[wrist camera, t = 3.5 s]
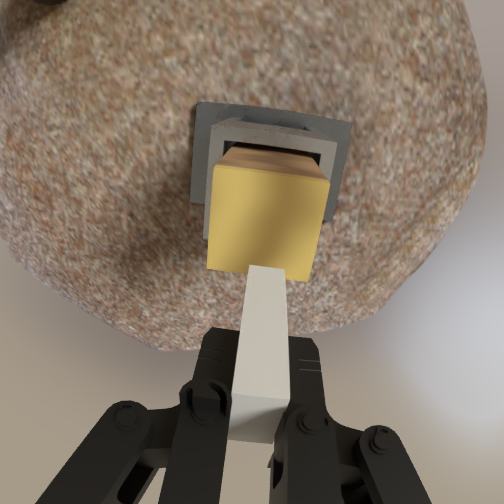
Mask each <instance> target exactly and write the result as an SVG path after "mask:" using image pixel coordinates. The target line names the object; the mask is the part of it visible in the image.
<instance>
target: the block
mask: <svg viewBox="0 0 504 504" xmlns="http://www.w3.org/2000/svg"><path fill="white" fill-rule="evenodd" d="M329 188H330V183H329V181H328V180H327V178H326V177H325V175H324V174H323V172H322V171H321V170H320V168H319V167H318V165H317V164H316V162H315V161H314V160H313V158H312V157H311V155H310V154H309V153H308V151H302V150H296V149H290V148H283V147H276V146H269V145H262V144H254V143H246V142H237V141H236V142H235V143H234V144H233V146H232V147H231V148H230V149H229V150H228V151H227V153H226V154H225V155H224V156H223V157H222V158H221V159H220V161H219V162H218V163H217V164H216V165H215V167H214V170H213V182H212V195H211V208H210V222H209V238H208V255H207V269H213V270H220V271H228V272H235V273H243V274H248V271H249V265H256V266H264V267H271V268H279V269H285V279H289V280H297V281H305V282H308V280H309V276H310V272H311V268H312V264H313V259H314V255H315V251H316V247H317V243H318V238H319V234H320V230H321V225H322V221H323V216H324V211H325V207H326V202H327V197H328V193H329Z"/></svg>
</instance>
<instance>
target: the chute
mask: <svg viewBox="0 0 504 504" xmlns="http://www.w3.org/2000/svg"><path fill="white" fill-rule="evenodd" d="M351 127H352V123H349V122H344V121H340V120H335V119H330V118H325V117H320V116H315V115H309V114H303V113H297V112H291V111H285V110H278V109H270V108H263V107H254V106H245V105H235V104H224V103H211V102H197V108H196V119H195V130H194V142H193V156H192V171H191V188H190V203H198V204H205V212H204V229H203V239H208V238H209V222H210V208H211V195H212V182H213V170H214V167H215V165H216V164H217V163H218V162H219V161H220V159H221V158H222V157H223V156H224V155H225V154H226V153H227V151H228V150H229V149H230V148H231V147H232V146H233V144H234V143H235V142H236V141H237V142H246V143H254V144H262V145H269V146H276V147H283V148H290V149H296V150H302V151H308V153H309V154H310V155H311V157H312V158H313V160H314V161H315V162H316V164H317V165H318V167H319V168H320V170H321V171H322V172H323V174H324V175H325V177H326V178H327V180H328V181H329V183H330V188H329V193H328V197H327V202H326V207H325V211H324V216H323V220H324V221H331V222H332V220H333V216H334V211H335V207H336V202H337V198H338V193H339V189H340V184H341V179H342V174H343V169H344V164H345V159H346V154H347V149H348V144H349V138H350V133H351Z"/></svg>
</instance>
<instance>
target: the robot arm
mask: <svg viewBox="0 0 504 504" xmlns="http://www.w3.org/2000/svg"><path fill="white" fill-rule="evenodd" d="M33 1H34V2H37V3H40V4H44V5H54V4H58V3H61V2H63V1H65V0H33ZM179 396H180V404H179V405H177V406H174V407H172V408H167V409H155V410H147V408H146V407H144V406H143V405H141V404H140V403H137V402H134V401H120V402H117V403H115V404H113V405H112V406H111V407H109V408H108V409H107V410H106V412H105V413H104V414H103V416H102V417H101V418H100V419H99V421H98V422H97V423H96V425H95V426H94V427H93V428H92V430H91V431H90V433H89V434H88V435H87V437H85V439H84V440H83V441H82V443H81V444H80V446H79V447H78V448H77V449H76V451H75V452H74V453H73V454H72V456H71V457H70V458H69V460H68V461H67V462H66V463H65V465H64V466H63V467H62V469H61V470H60V471H59V473H58V474H57V475H56V477H55V478H54V479H53V481H52V482H51V483H50V485H49V486H48V487H47V489H46V490H45V491H44V493H43V494H42V495H41V497H40V498H39V499H38V501H37V502H36V503H35V504H138V503H139V501H140V500H141V498H142V496H143V494H144V493H145V491H146V490H147V488H148V486H149V485H150V483H151V481H152V480H153V478H154V476H155V475H156V473H157V471H158V470H159V468H166V472H165V476H164V480H163V484H162V489H161V493H160V497H159V502H158V504H219V499H220V491H221V483H222V476H223V468H224V461H225V453H226V444H227V439H229V440H237V441H246V442H256V443H268V444H272V443H273V441H274V452H273V454H272V457H271V459H270V461H269V463H268V468H271V475H270V477H271V478H270V498H269V504H432V503H431V501H430V499H429V497H428V494H427V492H426V490H425V488H424V486H423V484H422V482H421V480H420V478H419V476H418V474H417V472H416V470H415V468H414V466H413V464H412V462H411V460H410V458H409V456H408V454H407V452H406V450H405V448H404V446H403V444H402V442H401V440H400V438H399V436H398V435H397V434H396V433H395V431H393V430H392V429H390V428H389V427H386V426H382V425H376V426H371V427H369V428H367V429H365V431H360V430H356V429H352V428H349V427H346V426H343V425H340V424H339V423H337V422H336V421H334V420H333V419H332V417H331V416H330V415H329V413H328V412H327V409H326V405H325V397H324V388H323V380H322V373H321V365H320V358H319V351H318V348H317V346H316V345H315V343H314V342H313V340H312V339H311V338H303V337H293V336H288V324H287V303H286V284H285V269H279V268H271V267H264V266H256V265H249V271H248V278H247V285H246V292H245V300H244V307H243V314H242V321H241V328H240V331H236V330H229V329H222V328H215V327H212V328H211V329H210V330H209V331H208V332H207V333H206V334H205V335H204V337H203V340H202V344H201V349H200V352H199V355H198V360H197V363H196V367H195V371H194V375H193V379H192V380H191V381H189V382H188V383H186V384H185V385H184V386H183V387H182V389H181V390H180V392H179ZM274 438H275V439H274Z"/></svg>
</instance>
